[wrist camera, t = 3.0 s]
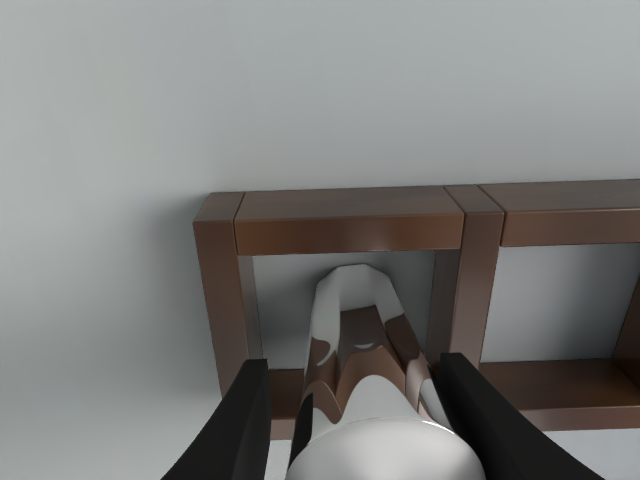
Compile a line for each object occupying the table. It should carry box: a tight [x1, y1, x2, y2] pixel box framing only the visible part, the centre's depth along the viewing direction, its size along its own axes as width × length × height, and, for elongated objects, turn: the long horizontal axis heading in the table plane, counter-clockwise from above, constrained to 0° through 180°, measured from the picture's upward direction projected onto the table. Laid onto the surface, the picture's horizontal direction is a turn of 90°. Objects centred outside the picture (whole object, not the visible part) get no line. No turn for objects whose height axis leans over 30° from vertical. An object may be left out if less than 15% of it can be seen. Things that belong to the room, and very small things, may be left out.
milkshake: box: [285, 264, 486, 480], centre depth 12 cm, size 4×5×10 cm
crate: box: [193, 179, 640, 440], centre depth 16 cm, size 17×9×3 cm, turn 92°
